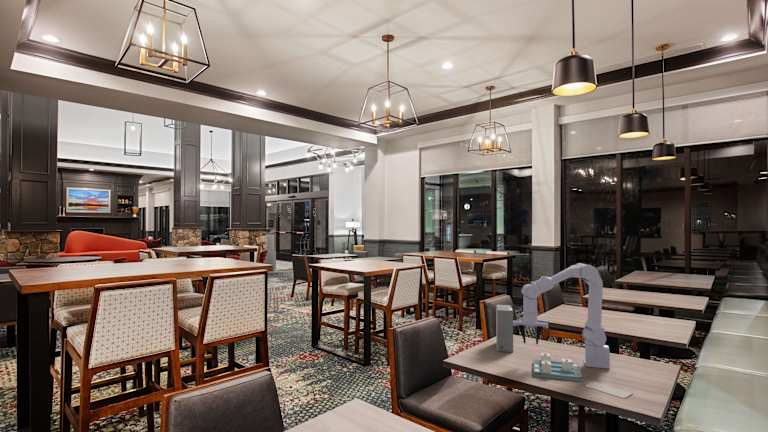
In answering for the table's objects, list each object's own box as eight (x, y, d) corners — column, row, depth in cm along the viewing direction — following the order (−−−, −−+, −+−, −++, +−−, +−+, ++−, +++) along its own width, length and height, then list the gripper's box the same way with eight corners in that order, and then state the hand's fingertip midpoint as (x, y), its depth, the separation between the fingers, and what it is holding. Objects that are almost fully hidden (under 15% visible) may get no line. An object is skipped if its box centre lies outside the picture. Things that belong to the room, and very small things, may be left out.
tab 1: (549, 362, 181) (549, 352, 181) (550, 365, 177) (550, 354, 177) (541, 361, 182) (541, 351, 182) (541, 364, 178) (541, 353, 178)
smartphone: (624, 398, 146) (583, 385, 158) (624, 400, 146) (583, 386, 158) (633, 393, 150) (592, 381, 162) (633, 395, 150) (592, 382, 162)
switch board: (578, 367, 178) (578, 363, 178) (582, 381, 162) (582, 377, 162) (533, 362, 184) (533, 359, 184) (533, 376, 168) (533, 372, 168)
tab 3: (571, 369, 173) (570, 357, 173) (571, 372, 169) (571, 360, 169) (561, 368, 174) (561, 357, 174) (562, 371, 170) (562, 359, 171)
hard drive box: (513, 352, 198) (513, 311, 199) (497, 351, 200) (496, 310, 200) (511, 343, 213) (510, 304, 214) (496, 342, 215) (495, 304, 215)
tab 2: (550, 371, 170) (550, 360, 170) (551, 374, 167) (551, 363, 167) (541, 370, 171) (541, 359, 171) (542, 373, 168) (541, 362, 168)
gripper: (547, 311, 183) (548, 342, 183) (513, 309, 188) (513, 339, 188) (548, 314, 176) (548, 346, 176) (512, 312, 181) (513, 343, 181)
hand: (530, 343), depth 182 cm, fingers open, 4 cm apart
